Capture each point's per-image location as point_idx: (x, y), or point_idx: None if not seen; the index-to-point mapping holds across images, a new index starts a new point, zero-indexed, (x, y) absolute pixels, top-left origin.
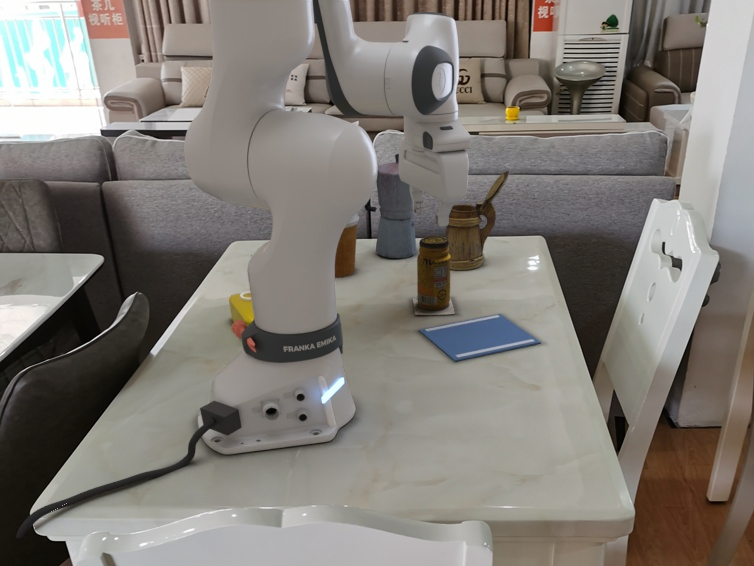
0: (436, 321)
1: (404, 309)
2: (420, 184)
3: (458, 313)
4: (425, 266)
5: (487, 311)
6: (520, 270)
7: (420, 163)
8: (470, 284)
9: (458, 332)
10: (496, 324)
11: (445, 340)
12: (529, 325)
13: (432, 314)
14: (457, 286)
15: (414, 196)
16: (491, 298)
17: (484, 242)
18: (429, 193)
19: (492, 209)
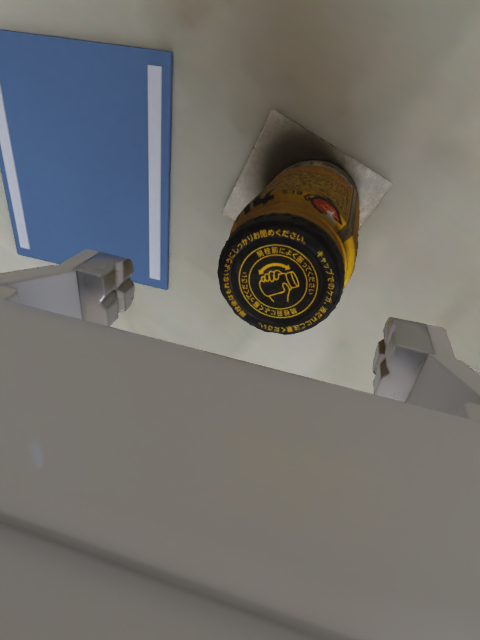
0: (210, 143)
1: (344, 112)
2: (190, 378)
3: (226, 225)
4: (264, 191)
5: (201, 284)
6: None
7: (133, 611)
8: (368, 368)
9: (111, 141)
10: (119, 245)
11: (79, 77)
12: None
13: (251, 159)
14: (381, 339)
15: (452, 390)
16: (261, 340)
17: None
18: (39, 312)
19: None
